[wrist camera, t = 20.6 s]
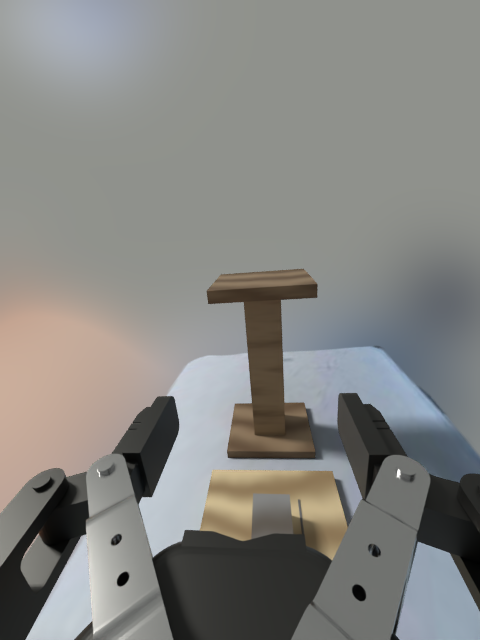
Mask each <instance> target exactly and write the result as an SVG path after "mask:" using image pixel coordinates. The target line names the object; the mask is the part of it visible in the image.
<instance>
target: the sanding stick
mask: <svg viewBox="0 0 480 640" xmlns="http://www.w3.org/2000/svg"><path fill="white" fill-rule="evenodd" d="M273 533H279V534H293V524H292V514H291V503H290V494H256V493H253V509H252V534H251V539H254V538H258V537H262V536H266V535H269V534H273Z"/></svg>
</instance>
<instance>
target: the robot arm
mask: <svg viewBox="0 0 480 640" xmlns="http://www.w3.org/2000/svg"><path fill="white" fill-rule="evenodd" d="M337 421H338V430H339V434H340V437H341V440H342V443H343V445H344V448H345V451H346V454H347V456H348V459H349V462H350V465H351V467H352V470H353V473H354V476H355V479H356V481H357V484H358V487H359V490H360V492H361V495H362V498H363V499H362V500H361V501H360V503H359V505H358V507H357V509H356V511H355V513H354V516H353V518H352V520H351V522H350V524H349V526H348V528H347V530H346V533H345V535H344V537H343V539H342V541H341V543H340V545H339V547H338V550H337V552H336V554H335V556H334V558H333V560H331V559H330V558H328V557H327V556H326V555H324V554H322V553H321V552H319V551H317V550H315V549H313V548H310V547H308V546H306V542H305V534H279V533H273V534H269V535H266V536H262V537H258V538H254V539H250V540H246V541H241V540H237V539H235V538H232V537H229V536H226V535H223V534H220V533H217V532H214V531H196V530H185V532H184V536H183V540H182V542H178V543H176V544H173V545H171V546H169V547H167V548H166V549H164V550H162V551H161V552H159V553H158V554H157V555H156V556H154V557H153V555H152V552H151V548H150V545H149V541H148V538H147V534H146V530H145V527H144V523H143V519H142V516H141V512H140V509H139V502H140V500H141V498H142V497H152V495H153V493H154V491H155V488H156V486H157V483H158V481H159V479H160V476H161V474H162V471H163V469H164V466H165V464H166V462H167V459H168V457H169V454H170V452H171V450H172V447H173V445H174V442H175V440H176V437H177V435H178V431H179V419H178V414H177V409H176V404H175V399H174V397H173V396H162V397H157V398H156V399H155V401H154V403H153V404H152V406H151V407H146V408H145V409H144V410H143V411H141V412H140V413H139V414H138V415H137V417H136V418H135V420H134V421H133V424H131V426H130V427H129V429H128V431H126V433H125V435H124V436H123V437H122V439H121V440H120V442H119V443H118V445H117V446H116V448H115V450H114V451H113V452H112V454H110V455H107V456H104V457H102V458H100V459H99V460H97V461H96V462H95V463H94V464H92V466H91V467H90V468H89V470H88V471H87V472H84V473H80V474H76V475H73V476H69V477H66V475H65V473H64V471H63V470H62V469H60V468H53V469H49V470H46V471H44V472H41V473H39V474H38V475H36V476H35V477H33V478H32V479H31V480H29V481H28V482H27V483H26V484H25V486H24V487H23V488H22V489H21V490H20V491H19V493H18V494H17V495H16V496H15V497H14V499H13V500H12V501H11V502H10V503H9V504H8V505H7V507H6V508H5V509H4V510H3V511H2V512H1V513H0V640H25V639H26V637H27V636H28V634H29V632H30V630H31V628H32V626H33V624H34V623H35V621H36V619H37V617H38V615H39V613H40V611H41V610H42V608H43V606H44V604H45V602H46V600H47V598H48V597H49V595H50V593H51V591H52V589H53V587H54V585H55V583H56V582H57V580H58V578H59V576H60V574H61V572H62V570H63V569H64V567H65V565H66V563H67V561H68V559H69V557H70V556H71V554H72V552H73V550H74V548H75V546H76V544H77V543H78V541H79V539H80V537H81V536H82V535H85V534H87V549H88V563H89V577H90V592H91V606H92V622H91V623H90V624H89V625H88V626H87V627H86V628H85V629H84V630H83V631H82V632H81V633H80V634H79V635H78V636H77V637H76V638H75V639H74V640H399V639H398V637H397V636H396V632H397V628H398V624H399V620H400V615H401V611H402V607H403V602H404V598H405V593H406V589H407V585H408V581H409V577H410V573H411V568H412V564H413V560H414V556H415V552H416V548H417V544H418V542H421V543H424V544H426V545H429V546H432V547H435V548H438V549H441V550H443V551H446V552H449V553H450V554H451V556H452V558H453V560H454V562H455V564H456V566H457V568H458V570H459V572H460V574H461V576H462V578H463V579H464V581H465V583H466V585H467V587H468V589H469V591H470V593H471V595H472V597H473V599H474V601H475V603H476V605H477V607H478V609H479V611H480V474H466V475H464V476H463V477H462V478H461V480H460V483H458V482H454V481H450V480H446V479H443V478H439V477H436V476H433V475H430V474H428V472H427V470H426V469H425V468H424V467H423V466H422V465H421V464H419V463H418V462H417V461H415V460H413V459H411V458H409V457H408V456H407V455H406V453H405V451H404V450H403V448H402V447H401V445H400V443H399V442H398V440H397V439H396V437H395V435H394V434H393V432H392V431H391V430H390V427H389V426H388V424H387V423H386V422H385V419H384V418H383V416H382V414H381V413H380V411H378V410H377V409H376V408H375V407H373V406H372V405H371V404H363V403H362V401H361V400H360V398H359V396H358V394H357V393H340V394H339V398H338V420H337ZM38 533H39V536H38V537H37V539H36V540H35V542H34V543H33V545H32V547H31V548H30V549H29V551H28V552H27V554H26V555H25V557H24V558H23V556H24V554H25V552H26V550H27V549H28V547H29V546H30V545H31V543H32V542H33V540H34V539H35V537H36V536H37V534H38Z"/></svg>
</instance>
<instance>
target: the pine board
mask: <svg viewBox="0 0 480 640" xmlns="http://www.w3.org/2000/svg"><path fill="white" fill-rule="evenodd" d="M253 493H256V494H290V503H291V514H292V524H293V534H305V542H306V546H308V547H310V548H313V549H315V550H317V551H319V552H321V553H322V554H324V555H326V556H327V557H328V558H330V559H331V560H333V558H334V556H335V554H336V552H337V550H338V547H339V545H340V543H341V541H342V539H343V537H344V535H345V533H346V530H347V528H348V526H347V523H346V519H345V515H344V512H343V508H342V505H341V501H340V497H339V494H338V490H337V487H336V483H335V479H334V476H333V472H332V471H270V470H213V471H212V476H211V480H210V485H209V490H208V495H207V499H206V504H205V509H204V514H203V518H202V523H201V528H200V531H214V532H217V533H220V534H223V535H226V536H229V537H232V538H235V539H237V540H241V541H246V540H250V539H251V534H252V509H253Z"/></svg>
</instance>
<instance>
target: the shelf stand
mask: <svg viewBox="0 0 480 640" xmlns="http://www.w3.org/2000/svg"><path fill="white" fill-rule="evenodd" d="M207 297H208V304H215V303H233V302H244V310H245V322H246V334H247V346H248V359H249V371H250V383H251V395H252V403H250V404H235V407H234V413H233V419H232V425H231V431H230V437H229V443H228V449H227V454H228V458H315V448H314V444H313V439H312V435H311V430H310V426H309V422H308V417H307V413H306V408H305V404H304V403H284V379H283V351H282V322H281V300H284V299H302V298H317V283H316V282H315V281H314V280H313V279H312V277H311V276H310V275H309V274H308V273H307V272H306V271H305V270H304V269H294V270H280V271H266V272H252V273H236V274H223V275H220V276H219V278H218V279H217V280H216V281H215V282H214V283H213V284H212V285H211V287H210V288H209V289H208V290H207Z"/></svg>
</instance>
